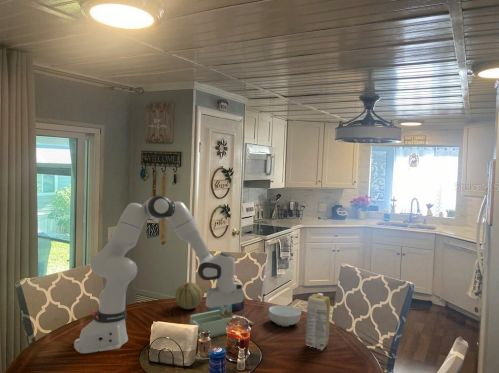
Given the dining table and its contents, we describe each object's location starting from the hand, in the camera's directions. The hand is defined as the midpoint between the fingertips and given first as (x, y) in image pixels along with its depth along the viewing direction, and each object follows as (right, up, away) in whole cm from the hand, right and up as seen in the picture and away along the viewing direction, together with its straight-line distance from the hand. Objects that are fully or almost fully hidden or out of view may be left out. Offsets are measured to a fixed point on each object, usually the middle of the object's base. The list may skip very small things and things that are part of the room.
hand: (224, 313), depth 197 cm
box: (-6, -7, -4) cm, 11 cm away
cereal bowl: (+31, -8, +9) cm, 33 cm away
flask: (+5, -7, +28) cm, 29 cm away
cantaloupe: (-22, -6, +25) cm, 34 cm away
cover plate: (+6, -5, +5) cm, 9 cm away
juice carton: (+43, -10, -16) cm, 47 cm away
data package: (-3, -7, +20) cm, 21 cm away
